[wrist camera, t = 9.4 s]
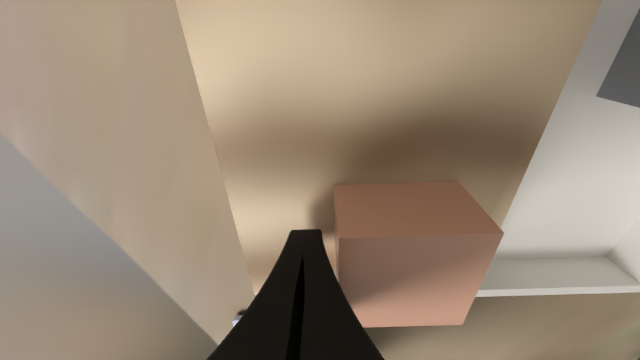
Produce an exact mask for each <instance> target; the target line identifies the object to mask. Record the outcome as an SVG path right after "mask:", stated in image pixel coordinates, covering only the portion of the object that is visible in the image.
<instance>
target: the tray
mask: <svg viewBox="0 0 640 360" xmlns="http://www.w3.org/2000/svg"><path fill="white" fill-rule="evenodd" d="M639 8H640V0H602V3H601V5H600V7H599V9H598V11H597V14H596V16H595V18H594V20H593V23H592V25H591V27H590V29H589V32H588V34H587V36H586V38H585V41H584V43H583V45H582V47H581V50H580V52H579V54H578V56H577V58H576V61H575V63H574V65H573V67H572V70H571V72H570V74H569V76H568V79H567V81H566V83H565V85H564V88H563V90H562V92H561V94H560V96H559V99H558V101H557V103H556V105H555V108H554V110H553V112H552V114H551V117H550V119H549V121H548V123H547V126H546V128H545V130H544V132H543V135H542V137H541V139H540V141H539V143H538V146H537V148H536V150H535V152H534V155H533V157H532V159H531V161H530V164H529V166H528V168H527V170H526V173H525V175H524V177H523V179H522V181H521V184H520V186H519V188H518V190H517V193H516V195H515V197H514V199H513V202H512V204H511V206H510V208H509V211H508V213H507V215H506V217H505V220H504V222H503V224H502V226H501V228H500V229H501V230H502V231H503V232H504V235H503V237H502V239H501V241H500V244H499V246H498V248H497V250H496V252H495V255H494V257H493V259H492V261H491V263H490V265H489V268H488V270H487V272H486V274H485V276H484V279H483V281H482V283H481V285H480V287H479V290H478V292H477V294H476V296H475V297H490V296H525V295H560V294H595V293H630V292H640V108H639V107H635V106H631V105H627V104H623V103H619V102H616V101H612V100H608V99H604V98H600V97H596V95H597V93H598V91H599V89H600V87H601V85H602V83H603V81H604V79H605V77H606V75H607V73H608V71H609V69H610V67H611V65H612V63H613V61H614V59H615V57H616V55H617V53H618V51H619V49H620V47H621V45H622V43H623V41H624V39H625V37H626V35H627V33H628V31H629V29H630V27H631V24H632V22H633V20H634V18H635V16H636V14H637V12H638V10H639Z"/></svg>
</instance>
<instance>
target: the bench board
mask: <svg viewBox="0 0 640 360" xmlns="http://www.w3.org/2000/svg"><path fill="white" fill-rule="evenodd" d="M175 2H176V6H177V9H178V13H179V17H180V20H181V24H182V28H183V32H184V35H185V39H186V43H187V46H188V50H189V54H190V58H191V61H192V65H193V69H194V72H195V76H196V80H197V83H198V87H199V91H200V95H201V98H202V102H203V106H204V109H205V113H206V117H207V121H208V124H209V128H210V132H211V135H212V139H213V143H214V147H215V150H216V154H217V158H218V161H219V165H220V169H221V173H222V176H223V180H224V184H225V187H226V191H227V195H228V198H229V202H230V206H231V210H232V213H233V217H234V221H235V224H236V228H237V232H238V236H239V239H240V243H241V247H242V250H243V254H244V258H245V262H246V265H247V269H248V273H249V276H250V280H251V284H252V287H253V291H254V295H257V294H258V292H259V291H260V289H261V288H262V286H263V284H264V283H265V281H266V279H267V278H268V276H269V274H270V273H271V271H272V269H273V267H274V265H275V263H276V262H277V260H278V258H279V256H280V254H281V252H282V250H283V248H284V245H285V243H286V241H287V238H288V236H289V233H290V231H291V230H303V229H320V230H321V231H322V238H323V242H324V246H325V250H326V253H327V256H328V259H329V261H330V264H331V266H332V269H333V271H334V274H335V249H334V185H352V184H381V183H410V182H438V181H459V182H460V184H461V185H462V186H463V187H464V188H465V189H466V190H467V191H468V193H469V194H470V195H471V196H472V197H473V198H474V199H475V200H476V202H477V203H478V204H479V205H480V206H481V207H482V208H483V210H484V211H485V212H486V213H487V214H488V215H489V216H490V217H491V219H492V220H493V221H494V222H495V223H496V224H497V225H498V226H499V228H501V226H502V224H503V222H504V220H505V217H506V215H507V213H508V211H509V208H510V206H511V204H512V202H513V199H514V197H515V195H516V193H517V190H518V188H519V186H520V184H521V181H522V179H523V177H524V175H525V173H526V170H527V168H528V166H529V164H530V161H531V159H532V157H533V155H534V152H535V150H536V148H537V146H538V143H539V141H540V139H541V137H542V135H543V132H544V130H545V128H546V126H547V123H548V121H549V119H550V117H551V114H552V112H553V110H554V108H555V105H556V103H557V101H558V99H559V96H560V94H561V92H562V90H563V88H564V85H565V83H566V81H567V79H568V76H569V74H570V72H571V70H572V67H573V65H574V63H575V61H576V58H577V56H578V54H579V52H580V50H581V47H582V45H583V43H584V41H585V38H586V36H587V34H588V32H589V29H590V27H591V25H592V23H593V20H594V18H595V16H596V14H597V11H598V9H599V7H600V5H601V3H602V0H175Z"/></svg>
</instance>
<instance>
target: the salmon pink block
mask: <svg viewBox="0 0 640 360" xmlns="http://www.w3.org/2000/svg"><path fill="white" fill-rule="evenodd" d="M503 235H504V232H503V231H502V230H501V229H500V228H499V226H498V225H497V224H496V223H495V222H494V221H493V220H492V219H491V217H490V216H489V215H488V214H487V213H486V212H485V211H484V210H483V208H482V207H481V206H480V205H479V204H478V203H477V202H476V200H475V199H474V198H473V197H472V196H471V195H470V194H469V193H468V191H467V190H466V189H465V188H464V187H463V186H462V185H461V184H460V182H459V181H438V182H410V183H381V184H352V185H334V249H335V276H336V278H337V280H338V283H339V285H340V287H341V289H342V291H343V293H344V295H345V297H346V299H347V301H348V302H349V304H350V306H351V308H352V310H353V311H354V313H355V315H356V317H357V318H358V320H359V322H360V323H361V325H362V327H401V326H439V325H463V322H464V320H465V318H466V316H467V314H468V312H469V309H470V307H471V305H472V303H473V301H474V298H475V296H476V294H477V292H478V290H479V287H480V285H481V283H482V281H483V279H484V276H485V274H486V272H487V270H488V268H489V265H490V263H491V261H492V259H493V257H494V255H495V252H496V250H497V248H498V246H499V244H500V241H501V239H502V237H503Z"/></svg>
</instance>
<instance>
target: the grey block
mask: <svg viewBox="0 0 640 360" xmlns="http://www.w3.org/2000/svg"><path fill="white" fill-rule="evenodd" d="M596 97H600V98H604V99H608V100H612V101H616V102H619V103H623V104H627V105H631V106H635V107H639V108H640V8H639V10H638V12H637V14H636V16H635V18H634V20H633V22H632V24H631V27H630V29H629V31H628V33H627V35H626V37H625V39H624V41H623V43H622V45H621V47H620V49H619V51H618V53H617V55H616V57H615V59H614V61H613V63H612V65H611V67H610V69H609V71H608V73H607V75H606V77H605V79H604V81H603V83H602V85H601V87H600V89H599V91H598V93H597V95H596Z"/></svg>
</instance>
